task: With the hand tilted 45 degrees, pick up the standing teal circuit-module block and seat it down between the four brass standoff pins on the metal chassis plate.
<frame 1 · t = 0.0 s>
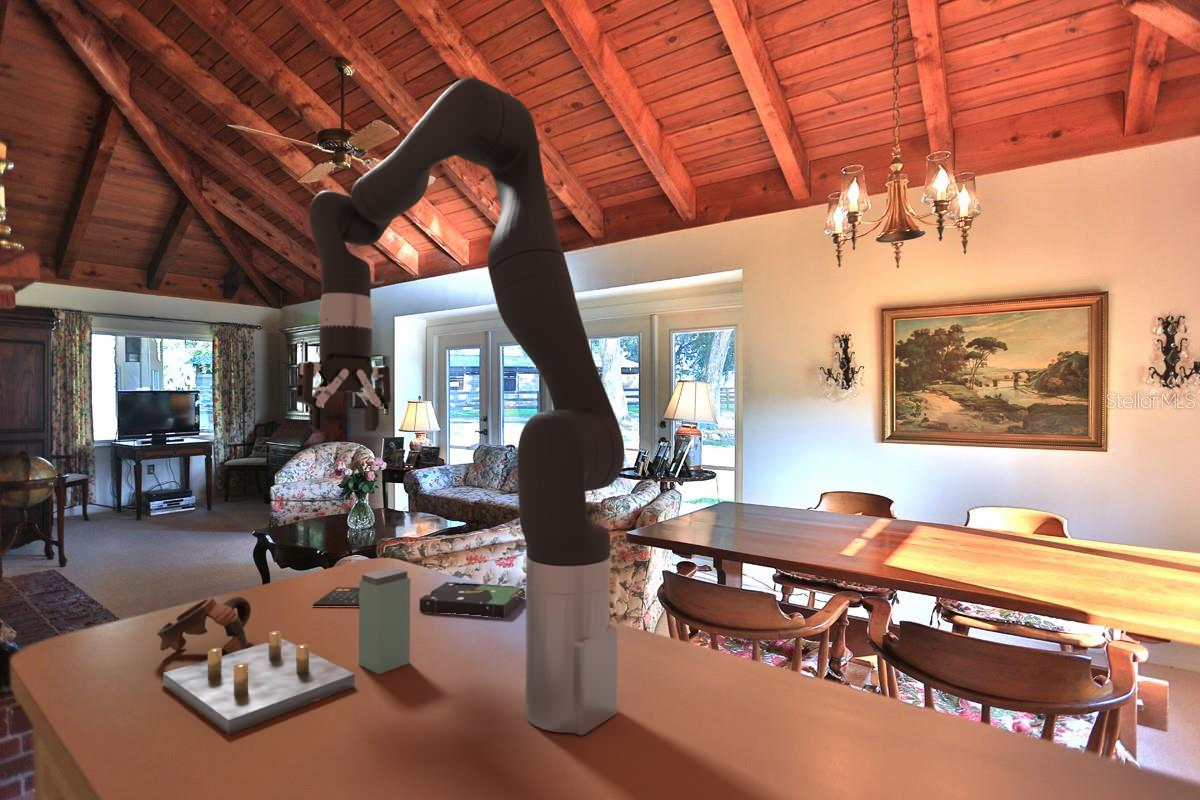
hand: (345, 431, 97), 29 cm above the counter, tool pointing down, fingers open, 8 cm apart
module: (384, 663, 82), on the counter
calculator: (359, 601, 109), on the counter
disk drive: (473, 609, 106), on the counter
chassis: (258, 685, 76), on the counter
pottery mug: (212, 652, 86), on the counter
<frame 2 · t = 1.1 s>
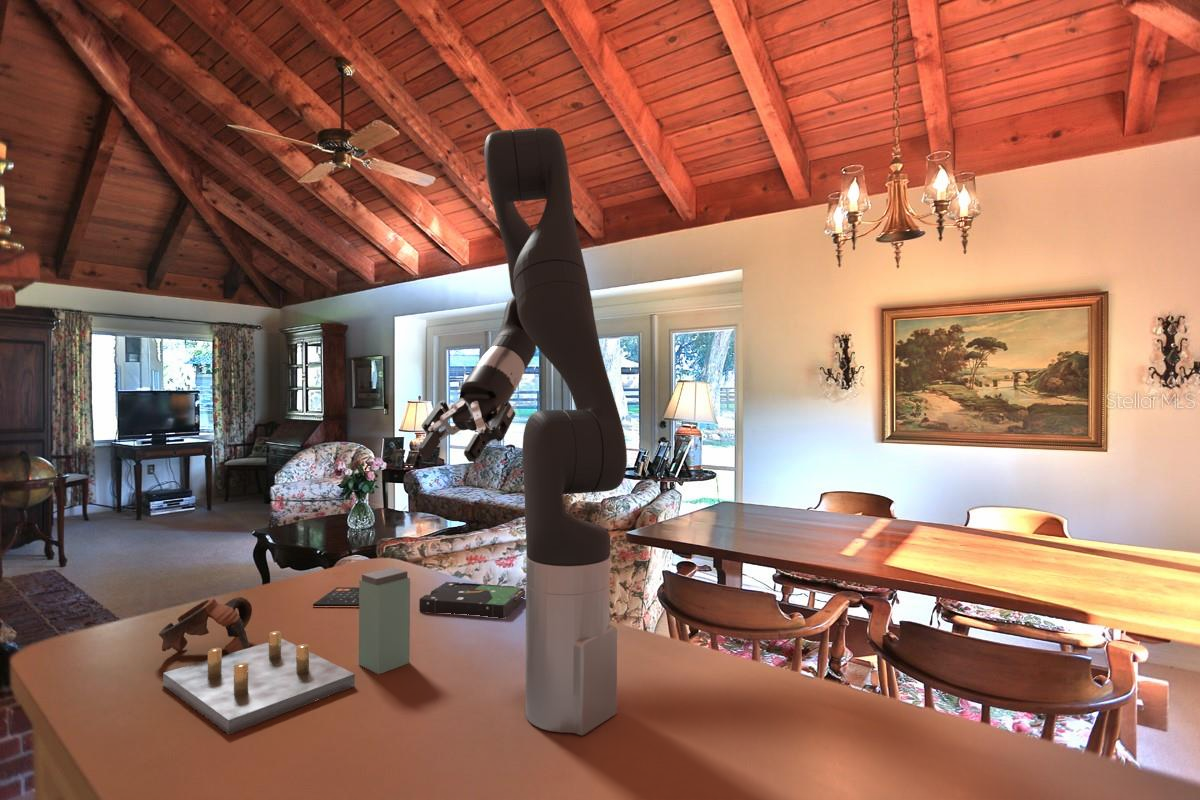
hand: (445, 456, 92), 26 cm above the counter, tool tilted 45°, fingers open, 8 cm apart
nothing on the counter moved.
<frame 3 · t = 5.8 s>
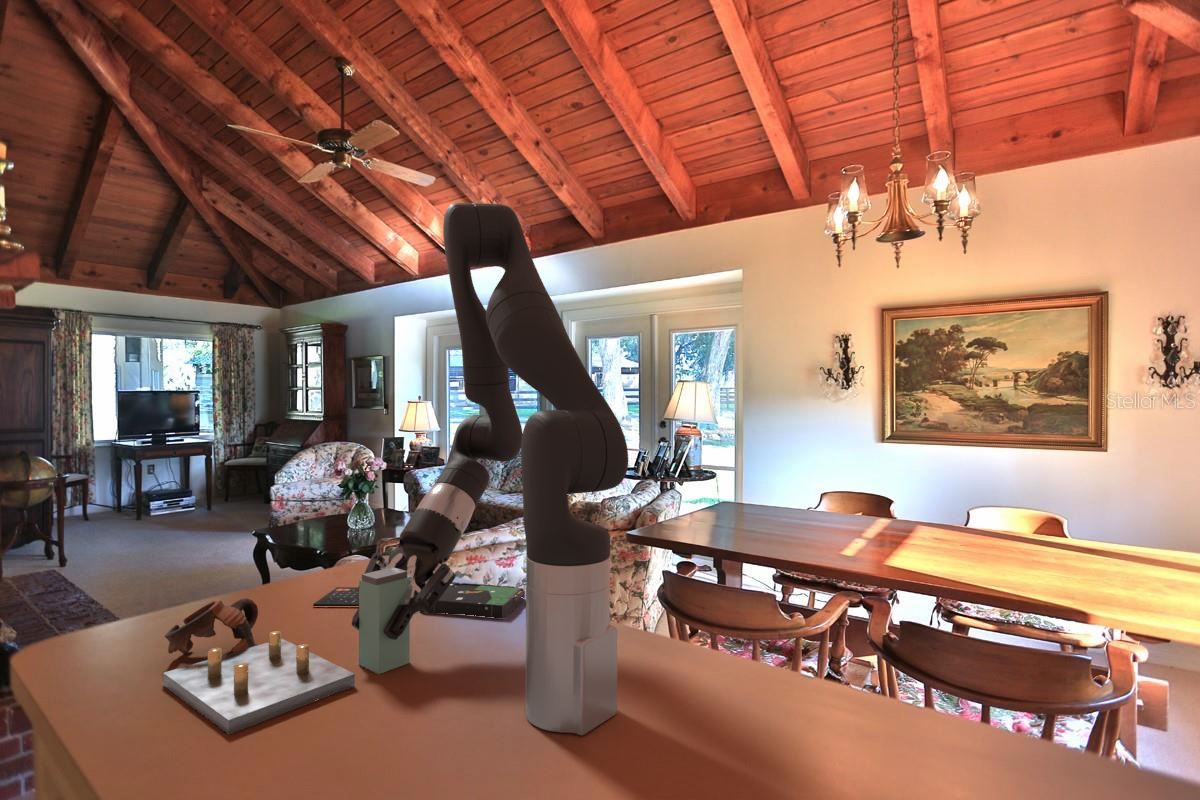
hand: (373, 631, 81), 5 cm above the counter, tool tilted 45°, fingers closed on module, 5 cm apart
module: (384, 663, 82), on the counter, touching gripper
pottery mug: (220, 655, 85), on the counter
everything else where it was.
when the fingers open (8 cm above the counter, at t = 10.6 s): module drops 1 cm, resting on chassis.
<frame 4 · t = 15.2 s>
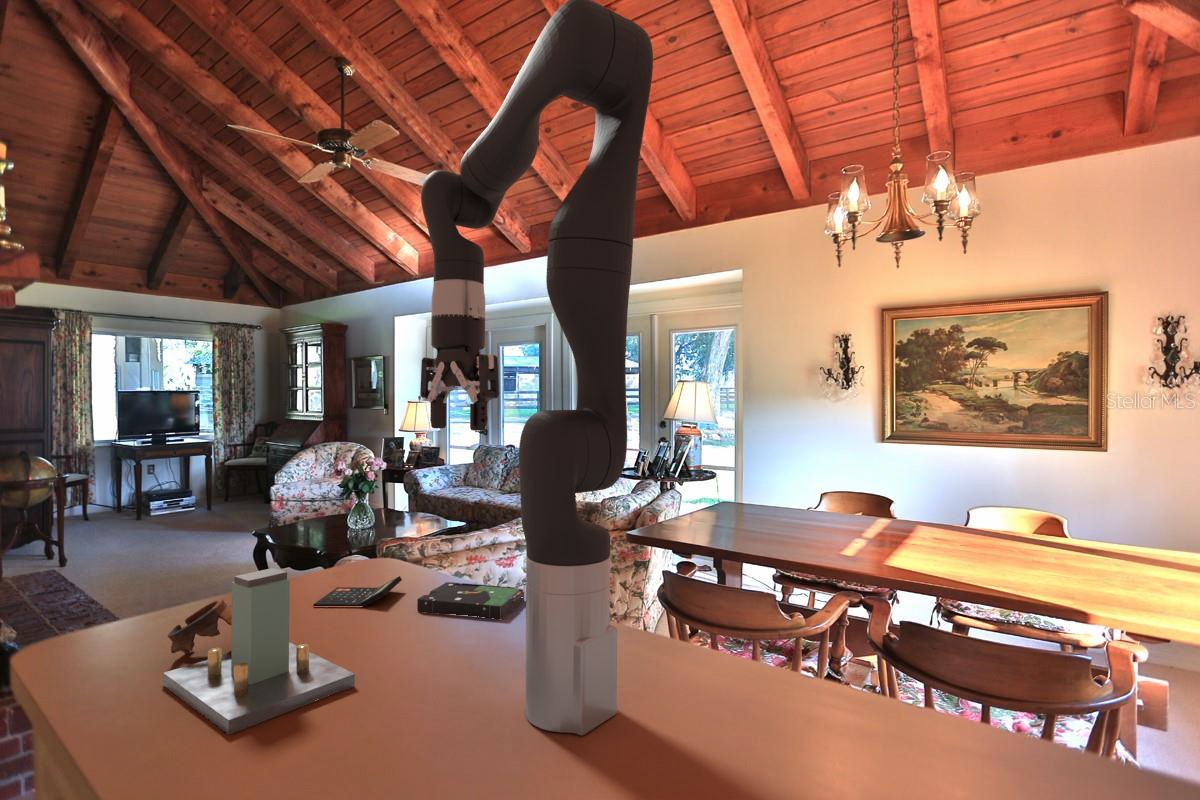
hand: (457, 429, 90), 30 cm above the counter, tool pointing down, fingers open, 8 cm apart
module: (260, 672, 76), point 1 cm above the counter, touching chassis
everything else where it was.
at the end: module 0.1 cm off-centre on the chassis, point 1.5 cm above the chassis's base; module tilted 0°; the gripper is holding nothing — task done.
